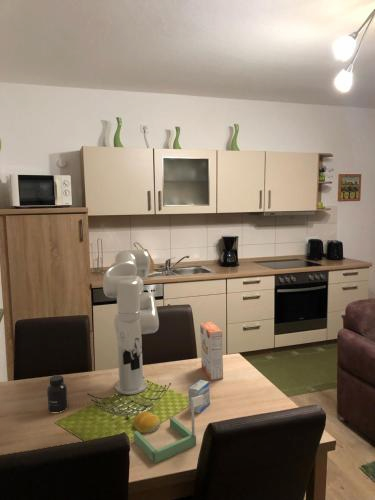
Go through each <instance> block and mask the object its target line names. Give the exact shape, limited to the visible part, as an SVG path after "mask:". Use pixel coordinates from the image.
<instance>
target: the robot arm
mask: <svg viewBox="0 0 375 500" xmlns="http://www.w3.org/2000/svg"><path fill="white" fill-rule="evenodd" d="M150 267H151V258H150V255H149V252H148V251H147V250H146V249H145V250H144V249H127V250H122V251H119V252H118V253H117V254H116V256H115V259H114V262H112V264H111V265H110V267H109V268H108V269H107V270H106V271H105V272H104V275H103V283H102V290H103V293H104V295H105V296H106V297H107V298H109V299H110V298H113V299H115V298H116V306H117V314H115V316H114V318H113V324H114V325H113V326H114V329H115V336H116V344H117V360H118V363H117V364H118V366H117V367H118V382H117V383H116V384H115V391H116V392H117V393H118V394H122V395H136V394H139V393H142V392H144V391H145V390H147V388H148V382H147V381H146V380H145V379H144V371H143V367H144V366H143V350H142V346H143V344H142V343H143V342H142V341H143V340H142V335H147V334H154V333H156V332H157V331H158V330H159V326H160V321H159V314H158V310H157V309H158V308H157V303H156V298H155V296H154V294H153V293H151V292H147V291H146V292H145V291H144V280H143V279H146V278H147V277H148V276H149V274H150ZM143 291H144V292H143Z"/></svg>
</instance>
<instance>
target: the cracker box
mask: <svg viewBox="0 0 375 500" xmlns="http://www.w3.org/2000/svg"><path fill="white" fill-rule="evenodd" d="M199 327H200V330H199V331H200V355H201V356H200V357H201V359H200V361H201V362H200V363H201V368H202V369H203V371H204V372H205V374H206V375H207V377H208V378H209V380H210V381H215V380H221V379H222V380H223V379H224V365H223V364H224V363H223V362H224V359H223V331H222V330H221V329H220V328H219V327H218V326H217V325H216V324H215V323H213V321H207V322H206V321H205V322H199Z"/></svg>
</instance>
